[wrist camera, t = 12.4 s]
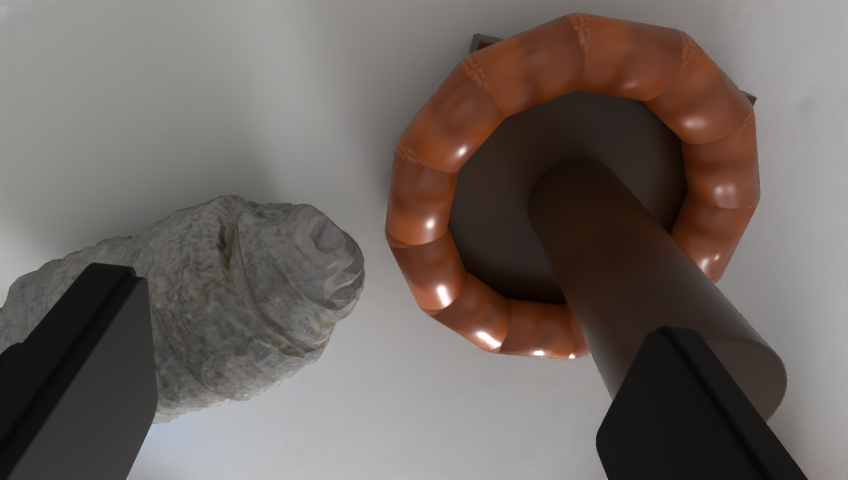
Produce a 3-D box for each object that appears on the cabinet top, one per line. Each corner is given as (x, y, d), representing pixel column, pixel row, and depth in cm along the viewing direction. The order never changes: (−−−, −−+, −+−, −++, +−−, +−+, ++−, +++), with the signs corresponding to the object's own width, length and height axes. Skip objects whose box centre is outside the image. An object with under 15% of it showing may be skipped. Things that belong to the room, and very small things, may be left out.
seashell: (-116, 298, 17) (-218, 522, 11) (274, 110, 20) (354, 212, 14) (29, 404, 21) (11, 607, 15) (336, 236, 24) (418, 354, 18)
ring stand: (737, 87, 18) (1067, 241, 9) (633, 305, 22) (790, 553, 13) (474, 33, 17) (561, 148, 8) (417, 274, 21) (433, 524, 12)
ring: (800, 47, 16) (849, 61, 15) (659, 346, 22) (682, 382, 20) (416, -18, 15) (419, -11, 13) (370, 318, 21) (368, 354, 19)
